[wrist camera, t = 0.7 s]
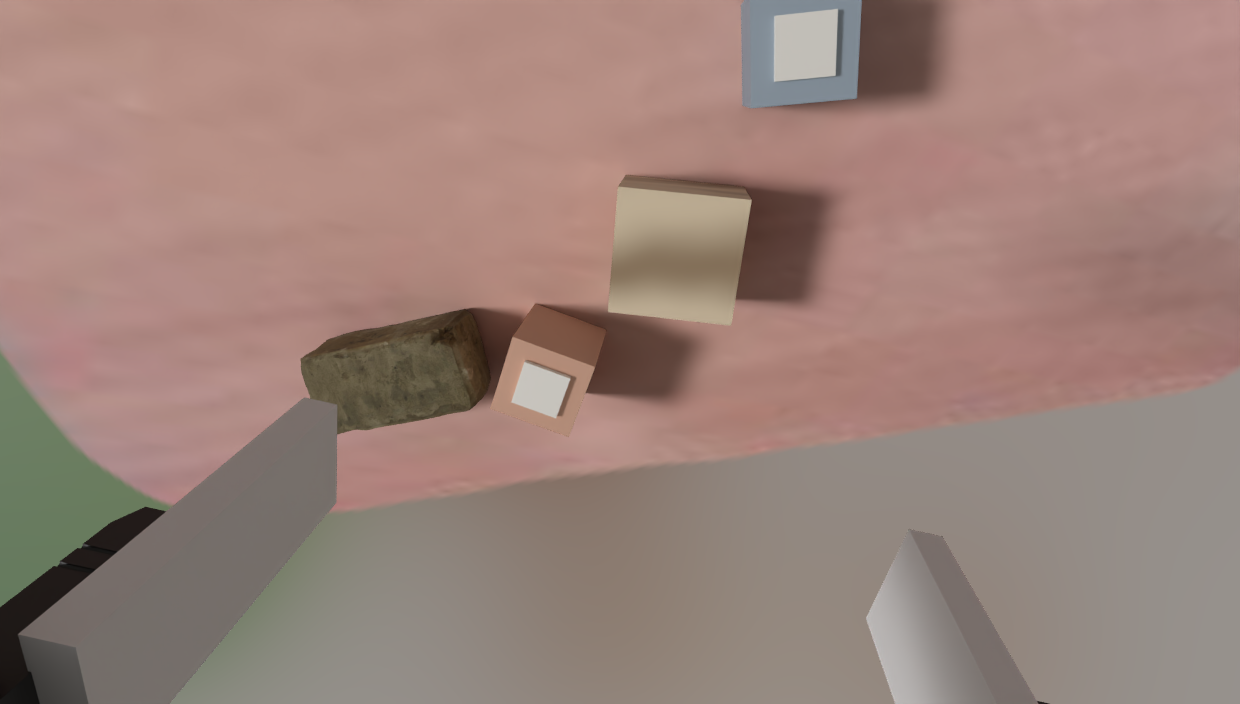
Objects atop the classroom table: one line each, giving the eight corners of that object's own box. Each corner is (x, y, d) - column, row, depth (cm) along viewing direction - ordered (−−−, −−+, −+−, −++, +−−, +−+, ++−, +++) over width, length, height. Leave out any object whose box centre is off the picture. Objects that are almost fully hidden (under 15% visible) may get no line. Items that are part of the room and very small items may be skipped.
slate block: (740, 5, 33) (750, -9, 29) (837, -6, 33) (864, -22, 28) (742, 105, 35) (751, 108, 30) (834, 96, 35) (858, 98, 30)
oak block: (626, 174, 37) (618, 186, 33) (743, 186, 37) (751, 200, 33) (616, 286, 40) (607, 311, 36) (725, 298, 40) (731, 325, 35)
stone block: (502, 377, 44) (480, 412, 39) (357, 407, 46) (320, 443, 41) (474, 300, 42) (448, 327, 37) (323, 336, 44) (280, 365, 39)
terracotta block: (535, 303, 41) (511, 338, 35) (606, 329, 41) (594, 369, 36) (514, 367, 43) (488, 411, 37) (583, 392, 43) (567, 439, 38)
